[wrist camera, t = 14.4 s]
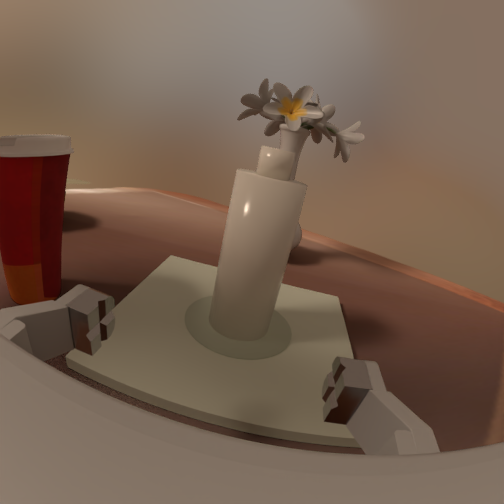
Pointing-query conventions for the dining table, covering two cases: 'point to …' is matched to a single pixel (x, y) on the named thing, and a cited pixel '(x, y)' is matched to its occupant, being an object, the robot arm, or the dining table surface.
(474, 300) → the dining table surface
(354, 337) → the dining table surface
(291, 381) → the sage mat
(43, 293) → the paper cup
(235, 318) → the cream bottle
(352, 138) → the flower vase
